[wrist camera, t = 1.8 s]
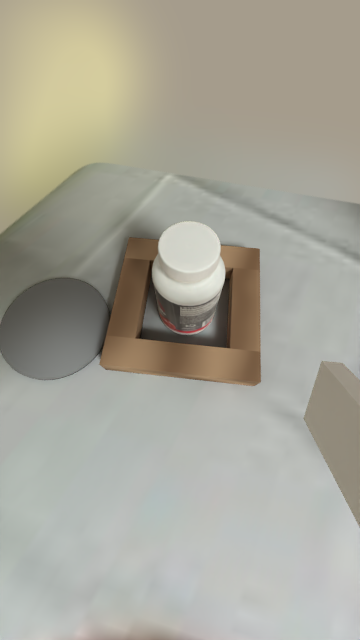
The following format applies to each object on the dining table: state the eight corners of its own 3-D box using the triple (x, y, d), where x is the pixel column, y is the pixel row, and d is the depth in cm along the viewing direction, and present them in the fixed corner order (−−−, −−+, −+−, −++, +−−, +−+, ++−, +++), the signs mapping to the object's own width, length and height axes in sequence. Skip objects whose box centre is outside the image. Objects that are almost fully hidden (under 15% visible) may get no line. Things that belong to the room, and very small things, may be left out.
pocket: (254, 260, 27) (259, 248, 26) (254, 386, 22) (260, 382, 21) (132, 249, 28) (129, 237, 26) (105, 369, 23) (99, 364, 21)
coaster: (119, 285, 26) (118, 283, 26) (96, 386, 22) (94, 385, 22) (23, 276, 27) (21, 273, 26) (-16, 373, 23) (-20, 372, 22)
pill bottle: (151, 296, 26) (135, 225, 17) (200, 279, 27) (210, 202, 18) (170, 345, 24) (164, 294, 15) (223, 324, 25) (248, 264, 16)
